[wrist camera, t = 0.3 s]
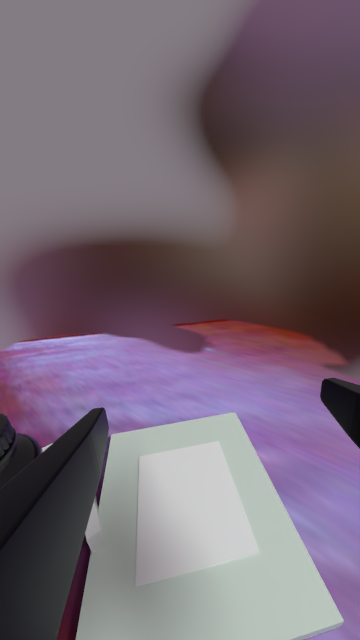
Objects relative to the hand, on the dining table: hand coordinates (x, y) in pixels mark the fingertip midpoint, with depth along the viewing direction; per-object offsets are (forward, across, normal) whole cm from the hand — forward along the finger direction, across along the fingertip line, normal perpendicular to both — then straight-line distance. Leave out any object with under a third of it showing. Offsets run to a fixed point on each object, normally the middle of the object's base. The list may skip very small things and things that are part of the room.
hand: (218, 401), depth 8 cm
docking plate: (+7, +1, +16) cm, 17 cm away
